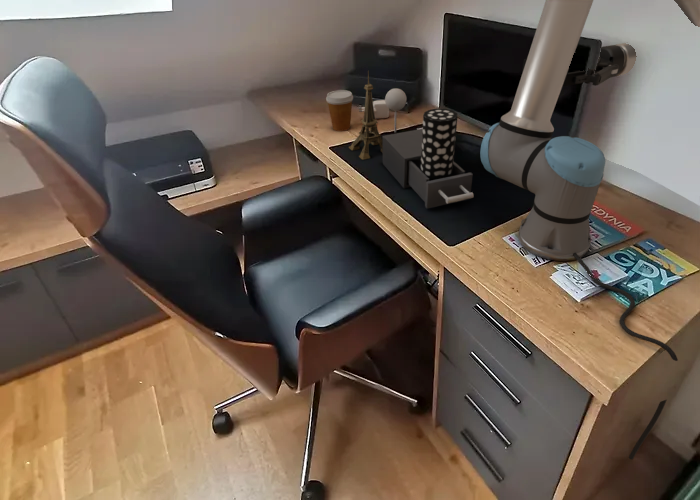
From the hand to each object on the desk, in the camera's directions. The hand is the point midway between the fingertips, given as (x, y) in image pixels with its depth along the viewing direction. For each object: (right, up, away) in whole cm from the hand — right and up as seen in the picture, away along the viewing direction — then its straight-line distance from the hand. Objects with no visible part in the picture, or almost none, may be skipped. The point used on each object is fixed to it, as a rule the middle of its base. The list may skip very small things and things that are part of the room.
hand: (540, 72), depth 110 cm
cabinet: (-27, -19, +27) cm, 42 cm away
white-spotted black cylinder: (-22, -25, +15) cm, 37 cm away
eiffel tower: (-39, -10, +40) cm, 57 cm away
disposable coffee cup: (-49, +2, +56) cm, 74 cm away
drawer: (-21, -28, +13) cm, 38 cm away
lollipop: (-30, -2, +50) cm, 59 cm away
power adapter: (-37, +7, +62) cm, 73 cm away
